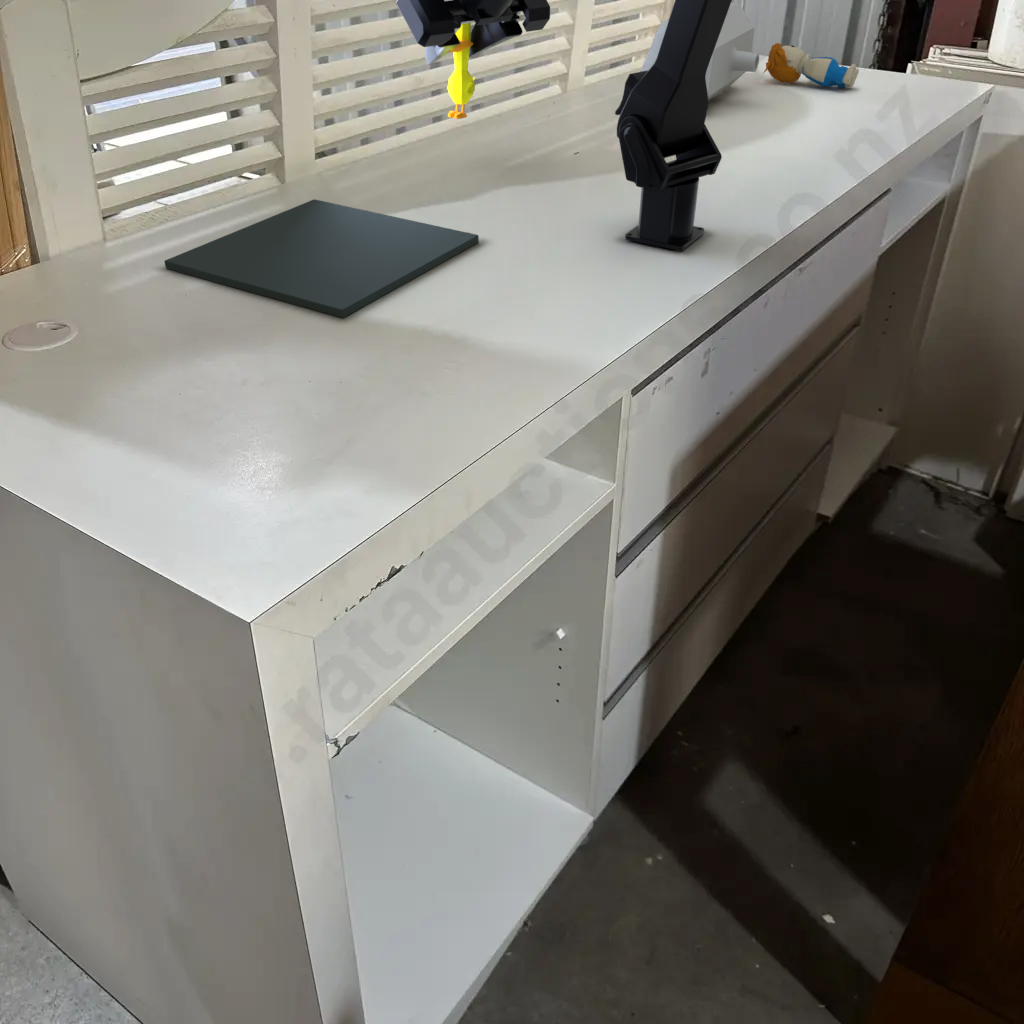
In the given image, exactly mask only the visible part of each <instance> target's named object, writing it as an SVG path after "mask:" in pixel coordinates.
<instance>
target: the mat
mask: <svg viewBox="0 0 1024 1024" xmlns="http://www.w3.org/2000/svg"><path fill="white" fill-rule="evenodd" d="M479 239H480V237H479V234H475V233H471V232H466V231H463V230H462V231H461V230H457V229H452V228H448V227H443V226H440V225H433V224H429V223H425V222H420V221H415V220H412V219H406V218H402V217H397V216H393V215H388V214H384V213H379V212H375V211H370V210H366V209H360V208H356V207H351V206H347V205H342V204H337V203H333V202H329V201H325V200H319V199H315V198H314V199H312V200H308V201H307V202H304V203H301V204H299V205H297V206H295V207H291V208H289V209H286V210H284V211H282V212H279V213H276V214H274V215H273V216H270V217H266V218H265V219H263V220H260V221H257V222H255V223H252V224H250V225H248V226H246V227H243V228H241V229H238V230H236V231H234V232H231V233H229V234H225V235H224V236H221V237H219V238H216V239H214V240H212V241H209V242H206V243H204V244H202V245H199V246H196V247H194V248H192V249H190V250H187V251H185V252H184V251H183V252H182V253H179V254H177V255H175V256H172V257H170V258H167V259H164V266H165V269H167V270H170V271H175V272H178V273H181V274H184V275H188V276H192V277H195V278H199V279H203V280H207V281H211V282H213V283H216V284H220V285H224V286H227V287H232V288H235V289H238V290H243V291H246V292H249V293H252V294H255V295H260V296H264V297H267V298H270V299H274V300H278V301H281V302H285V303H289V304H292V305H296V306H299V307H303V308H306V309H310V310H313V311H316V312H321V313H324V314H328V315H331V316H335V317H338V318H343V319H344V318H346V317H347V316H350V315H351V314H353V313H355V312H357V311H359V310H361V309H362V308H364V307H366V306H367V305H369V304H372V303H373V302H375V301H376V300H378V299H380V298H382V297H383V296H385V295H387V294H389V293H391V292H393V291H394V290H396V289H398V288H399V287H401V286H403V285H405V284H407V283H408V282H411V281H412V280H414V279H415V278H417V277H419V276H421V275H423V274H424V273H426V272H428V271H429V270H432V269H433V268H435V267H437V266H439V265H440V264H442V263H444V262H447V260H450V259H451V258H453V257H455V256H457V255H458V254H460V253H462V252H464V251H466V250H467V249H469V248H471V247H473V246H475V245H477V244H478V243H479V241H480V240H479Z"/></svg>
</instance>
